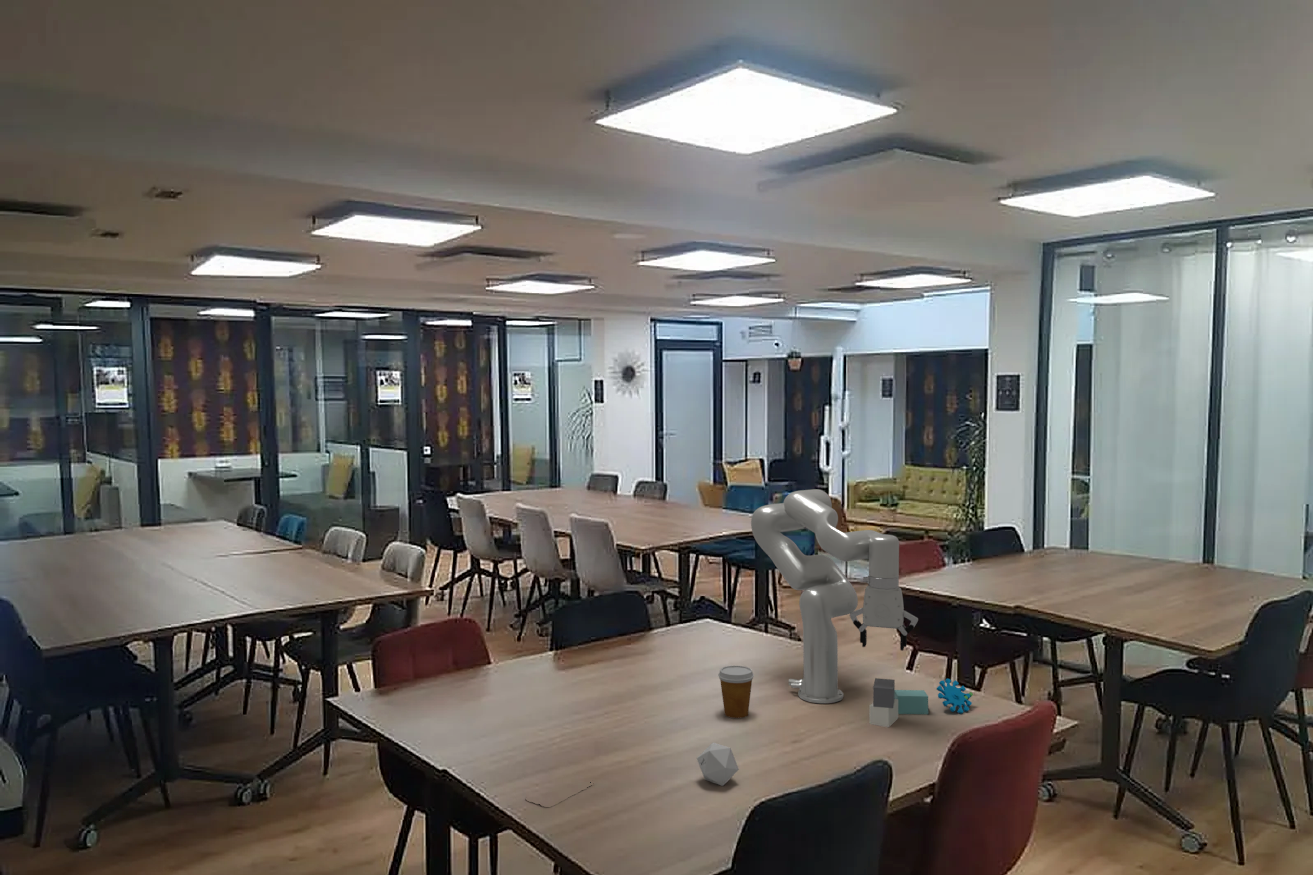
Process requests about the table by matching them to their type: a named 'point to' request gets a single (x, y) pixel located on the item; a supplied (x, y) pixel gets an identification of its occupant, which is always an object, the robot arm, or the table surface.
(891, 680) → the charcoal block
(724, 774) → the die
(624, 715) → the table surface
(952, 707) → the gear
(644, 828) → the table surface
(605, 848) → the table surface
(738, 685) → the disposable coffee cup
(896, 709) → the cream block
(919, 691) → the teal block
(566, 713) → the table surface
